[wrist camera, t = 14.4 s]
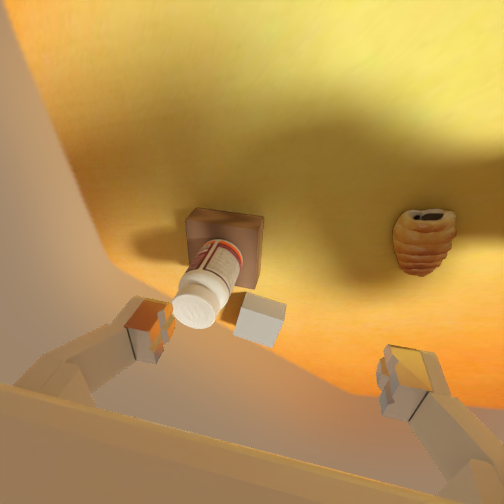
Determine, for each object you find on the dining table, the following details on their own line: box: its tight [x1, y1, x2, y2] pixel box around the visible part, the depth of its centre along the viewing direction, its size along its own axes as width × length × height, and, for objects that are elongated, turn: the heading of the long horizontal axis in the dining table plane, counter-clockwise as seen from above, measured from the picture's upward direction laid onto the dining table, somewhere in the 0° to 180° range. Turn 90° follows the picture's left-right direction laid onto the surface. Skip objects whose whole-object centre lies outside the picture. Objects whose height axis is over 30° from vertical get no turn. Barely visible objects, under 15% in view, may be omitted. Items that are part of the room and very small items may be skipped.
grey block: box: [233, 292, 286, 348], centre depth 50 cm, size 7×7×4 cm
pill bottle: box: [172, 239, 243, 329], centre depth 37 cm, size 6×6×11 cm
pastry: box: [393, 209, 457, 277], centre depth 37 cm, size 9×7×4 cm
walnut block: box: [185, 208, 264, 289], centre depth 43 cm, size 10×10×4 cm
